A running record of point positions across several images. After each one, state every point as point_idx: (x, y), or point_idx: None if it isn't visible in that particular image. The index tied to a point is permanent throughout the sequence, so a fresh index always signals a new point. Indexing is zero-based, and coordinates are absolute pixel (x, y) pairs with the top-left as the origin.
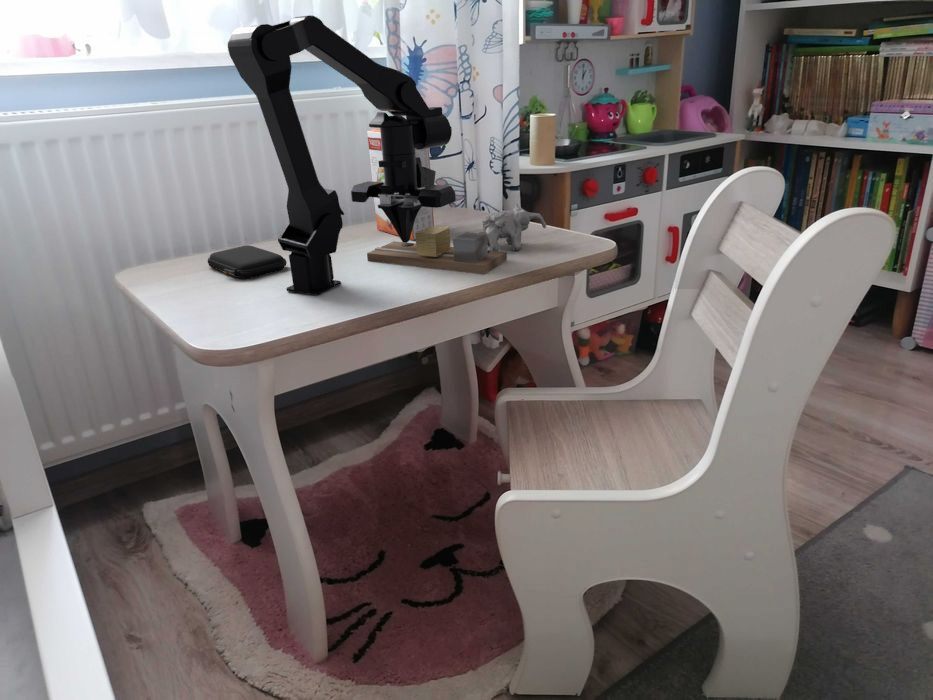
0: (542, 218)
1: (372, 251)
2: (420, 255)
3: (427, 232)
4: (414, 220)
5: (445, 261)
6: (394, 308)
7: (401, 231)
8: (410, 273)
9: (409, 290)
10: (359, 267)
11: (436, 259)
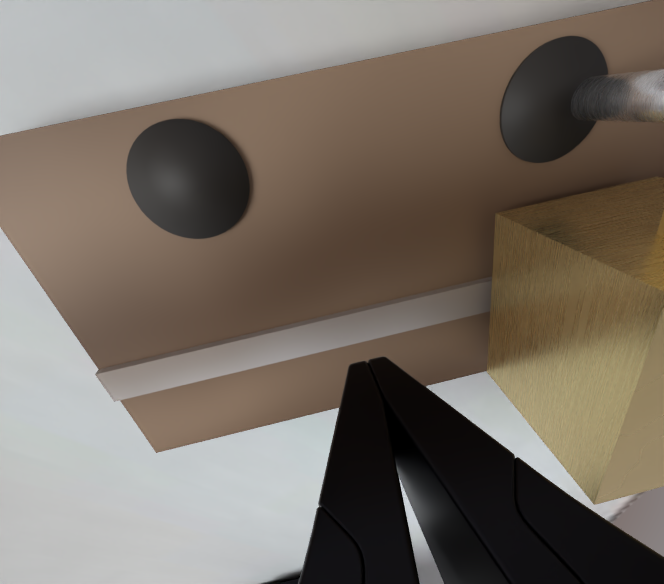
0: None
1: (147, 422)
2: (473, 327)
3: None
4: (558, 496)
5: None
6: None
7: (410, 501)
8: (483, 408)
9: (563, 489)
10: (230, 472)
11: None
